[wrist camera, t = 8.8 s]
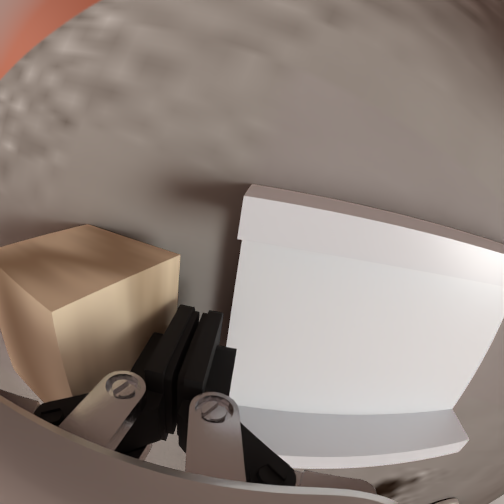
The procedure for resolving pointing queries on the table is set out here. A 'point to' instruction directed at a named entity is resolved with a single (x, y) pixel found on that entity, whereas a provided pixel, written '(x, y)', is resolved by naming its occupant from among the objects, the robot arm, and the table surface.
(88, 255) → the birch block
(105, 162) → the table surface
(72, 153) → the table surface
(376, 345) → the u-shaped channel
